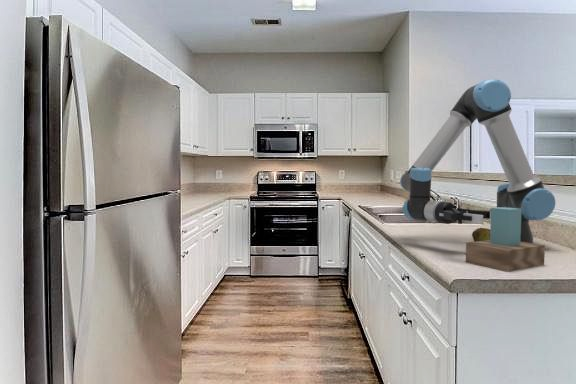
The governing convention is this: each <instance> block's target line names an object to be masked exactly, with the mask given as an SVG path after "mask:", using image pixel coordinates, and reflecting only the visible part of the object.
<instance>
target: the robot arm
mask: <svg viewBox="0 0 576 384" xmlns="http://www.w3.org/2000/svg"><path fill="white" fill-rule="evenodd" d="M511 98H512V92H511V89H510V87H509V86H508V84H507V83H506V82H504V81H503V80H500V79H497V78H492V79H491V78H490V79H486V80H482V81H480V82H479V83H477V84H475V85H473V86H470V87H468V88H467V89H466V90H465V91H464V92H463V93H462V94H461V96H460V98H459V99H458V100H457V101H456V103H455V104H454V106H453V107H452V109H451V110H450V111H449V117H448V118H447V120H446V121H445V122H444V123H443V125H442V126H441V128H440V129H439V130H438V131H437V133H436V134H434V137H433V138H432V139H431V141H430V142H429V143H428V145H427V146H426V147H425V148H424V150H423V151H422V152H421V154H420V155H419V156H418V157H417V159H416V160H415V161H414V162H413V164H412V165H411V167H410V168H409V169H408V170H407V172H404V173H403V174H402V176H401V177H400V180H399V184H400V186H401V188H402V189H403V190H405V191H407V192H409V198H407V199H406V200H405V201H404V202H403V205H402V213H403V215H404V216H405V217H406V218H409V219H411V220H415V221H417V220H418V221H424V222H425V221H426V222H432V224H436V223H440V224H446V225H449V224H452V223H453V222H454V223H455V222H457V224H458V225H461V224H463V223H469V224H478V225H484V219H486V220H488V219H489V220H490V221H491V209H490V210H480V209H470V208H461V207H457V208H456V205H455V204H453V203H452V202H449V201H441V200H440V201H439V200H431V194H432V193H431V192H432V187H431V185H432V172H433V171H434V169H435V168H436V167H437V165H438V164H440V162H441V160H442V159H443V157H444V156H445V155H446V154H447V153H448V151H449V150H450V148H451V147H452V146H453V144H455V143H456V141H457V140H458V138H459V137H460V136H461V134H462V133H463V132H464V131H465V129H466V128H467V127H472V125H473V123H475V121H476V120H477V122H478V124H480V125H482V126H484V127H485V130H486V132H487V134H488V137H489V139H490V141H491V144H492V146H493V148H494V150H495V153H496V155H497V158H498V160H499V163H500V166H501V168H502V170H503V172H504V175H505V177H506V180H507V182H508V183H504V184H503V183H502V184H499V185H498V187H497V190H496V191H497V192H496V208H498V207H507V208H518V209H522V212H521V237H520V242H527V243H533V244H534V236H533V233H532V230H531V226H530V221H542V220H546V219H547V218H549V216H550V215H552V213H553V212H554V210H555V208H556V198H555V195H554V194H553V193H552V192H551V191H550V190H549V189H546V188H545V186H544V185H543V181H542V179H541V178H539V177H537V176H535V175H534V172H533V170H532V168H531V165H530V163H529V161H528V158H527V156H526V154H525V151H524V149H523V146H522V144H521V142H520V139H519V136H518V133H517V131H516V129H515V127H514V125H513V122H512V120H511V117H510V115H511V112H512V110H513V109H512V107H511V105H510V101H511Z"/></svg>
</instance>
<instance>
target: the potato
mask: <svg viewBox="0 0 576 384" xmlns="http://www.w3.org/2000/svg"><path fill="white" fill-rule="evenodd" d="M471 237H472V239H473V242H478V241H486V240H490V228H485V227H479V228H476V229H474V230H473V231H472V233H471Z"/></svg>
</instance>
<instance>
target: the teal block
mask: <svg viewBox="0 0 576 384" xmlns="http://www.w3.org/2000/svg"><path fill="white" fill-rule="evenodd" d="M490 210H491V220H490V228H489V229H490V243H491V244H496V245H502V246H516V245H520V237H521V212H522V209H518V208H507V207H498V208H497V207H491V208H490Z"/></svg>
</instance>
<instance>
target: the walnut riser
mask: <svg viewBox="0 0 576 384" xmlns="http://www.w3.org/2000/svg"><path fill="white" fill-rule="evenodd" d="M545 251H546V245H544V244H539V243H534V242H533V243H527V242H520V245H516V246H502V245H496V244H491V243H490V240H486V241H478V242H474V241H471V242H466V243H465V263H469V264H473V265H476V266H482V267H485V268H491V269H495V270H499V271H503V272H512V271H519V270H523V269H529V268H535V267H539V266H540V267H541V266H544V265H545V254H546V253H545Z"/></svg>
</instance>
